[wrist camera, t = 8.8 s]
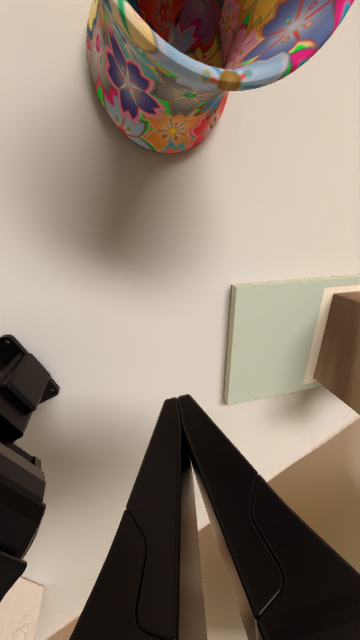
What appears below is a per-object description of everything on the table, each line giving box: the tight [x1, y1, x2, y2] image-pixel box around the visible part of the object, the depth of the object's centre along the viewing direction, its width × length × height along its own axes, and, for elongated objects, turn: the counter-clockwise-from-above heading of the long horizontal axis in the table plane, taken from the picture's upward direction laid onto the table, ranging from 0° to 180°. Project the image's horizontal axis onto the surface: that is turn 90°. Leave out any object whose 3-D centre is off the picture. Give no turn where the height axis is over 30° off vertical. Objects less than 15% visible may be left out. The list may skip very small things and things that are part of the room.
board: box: [224, 274, 360, 405], centre depth 26 cm, size 22×13×1 cm, turn 91°
